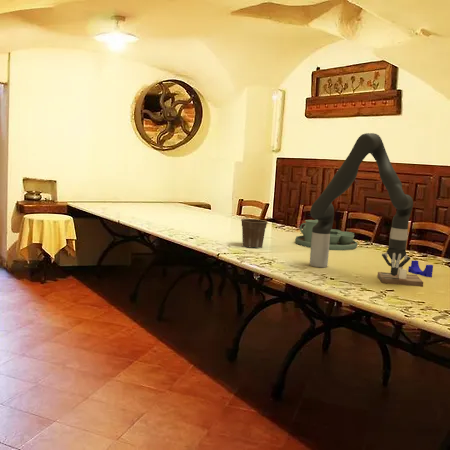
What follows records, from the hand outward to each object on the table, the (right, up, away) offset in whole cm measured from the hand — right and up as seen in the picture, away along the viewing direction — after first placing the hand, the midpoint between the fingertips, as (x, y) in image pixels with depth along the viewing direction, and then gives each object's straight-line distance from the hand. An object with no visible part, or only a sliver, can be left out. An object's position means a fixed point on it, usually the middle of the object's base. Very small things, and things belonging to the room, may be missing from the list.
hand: (393, 275), depth 236 cm
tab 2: (+4, -1, 0) cm, 4 cm away
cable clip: (+21, -2, +23) cm, 31 cm away
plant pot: (-60, +10, +78) cm, 99 cm away
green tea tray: (-11, +10, +102) cm, 103 cm away
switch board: (+4, -3, +5) cm, 7 cm away
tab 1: (+5, 0, +9) cm, 10 cm away
